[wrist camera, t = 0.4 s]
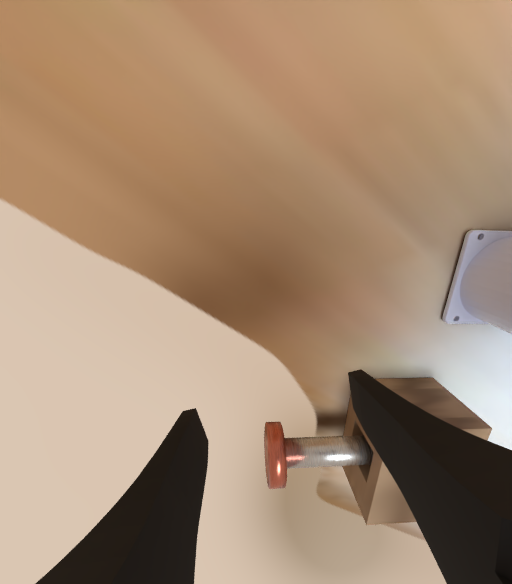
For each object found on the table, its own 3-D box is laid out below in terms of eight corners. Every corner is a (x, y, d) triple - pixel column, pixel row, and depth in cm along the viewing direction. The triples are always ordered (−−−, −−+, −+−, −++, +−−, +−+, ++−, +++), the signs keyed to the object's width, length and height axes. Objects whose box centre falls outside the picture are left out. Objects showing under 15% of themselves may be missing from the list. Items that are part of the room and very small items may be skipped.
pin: (393, 406, 24) (429, 452, 20) (383, 445, 26) (415, 495, 21) (265, 410, 23) (272, 458, 19) (263, 449, 25) (269, 503, 20)
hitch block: (433, 377, 25) (492, 428, 19) (410, 455, 28) (455, 519, 22) (353, 379, 24) (389, 431, 18) (339, 458, 27) (366, 525, 21)
